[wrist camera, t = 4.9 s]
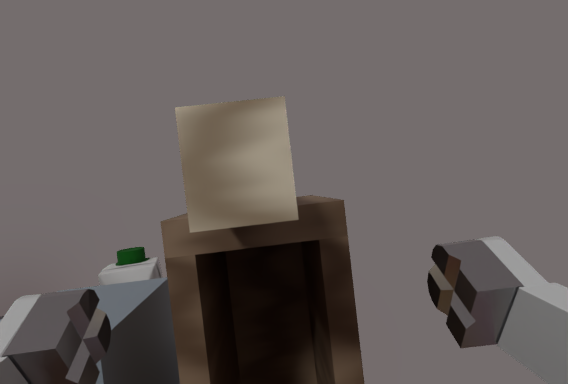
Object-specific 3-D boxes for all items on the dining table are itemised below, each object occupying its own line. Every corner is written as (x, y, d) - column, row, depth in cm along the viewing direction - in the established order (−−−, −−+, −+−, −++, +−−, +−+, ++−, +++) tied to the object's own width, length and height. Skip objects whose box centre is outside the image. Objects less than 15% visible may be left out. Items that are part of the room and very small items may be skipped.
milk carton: (174, 360, 60) (160, 243, 60) (173, 388, 52) (156, 251, 51) (118, 373, 58) (103, 251, 58) (107, 405, 49) (89, 261, 49)
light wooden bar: (189, 232, 11) (174, 107, 11) (238, 204, 31) (232, 159, 31) (298, 219, 12) (284, 96, 12) (277, 200, 32) (272, 154, 31)
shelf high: (217, 691, 20) (160, 221, 19) (237, 482, 34) (204, 207, 33) (395, 658, 20) (343, 200, 20) (342, 465, 34) (311, 195, 34)
